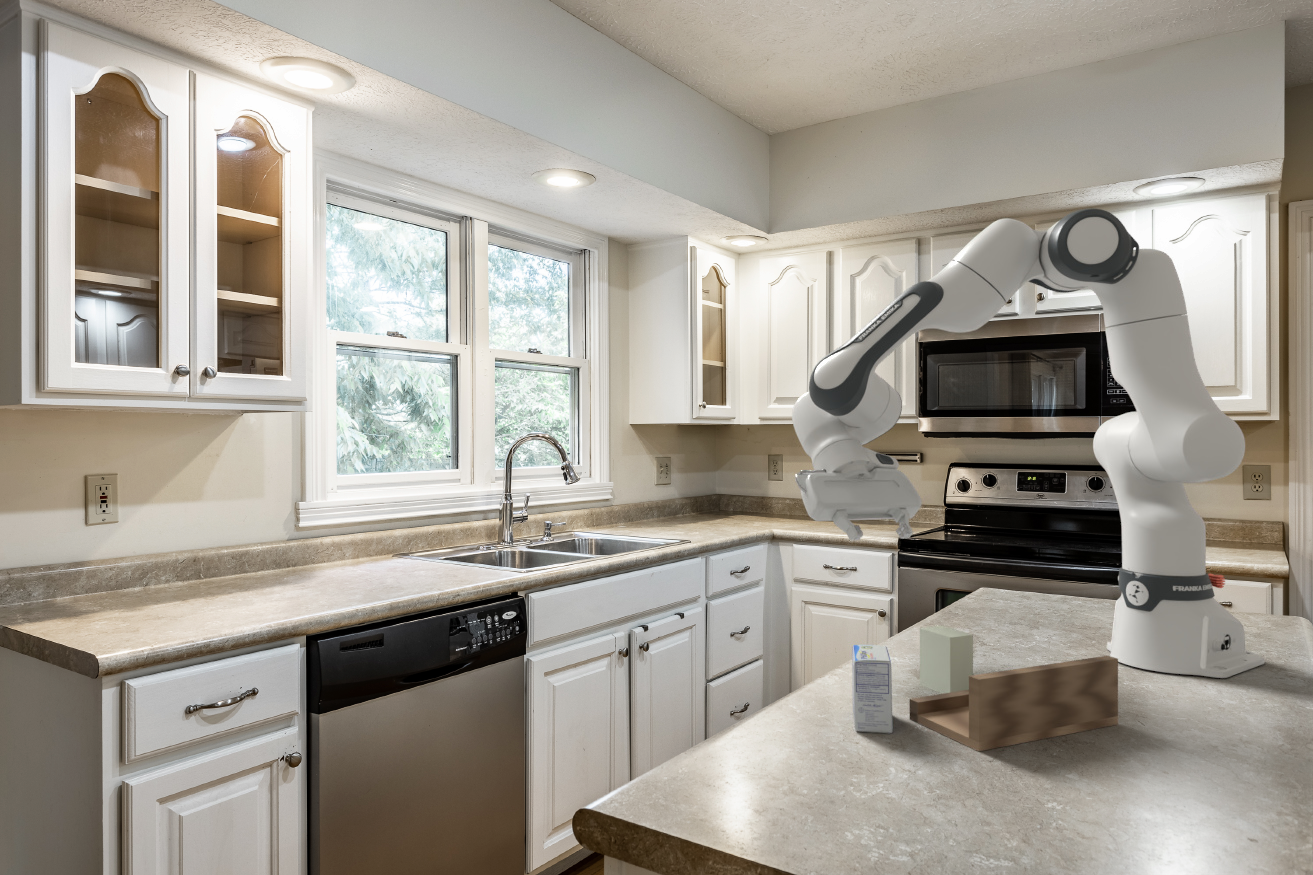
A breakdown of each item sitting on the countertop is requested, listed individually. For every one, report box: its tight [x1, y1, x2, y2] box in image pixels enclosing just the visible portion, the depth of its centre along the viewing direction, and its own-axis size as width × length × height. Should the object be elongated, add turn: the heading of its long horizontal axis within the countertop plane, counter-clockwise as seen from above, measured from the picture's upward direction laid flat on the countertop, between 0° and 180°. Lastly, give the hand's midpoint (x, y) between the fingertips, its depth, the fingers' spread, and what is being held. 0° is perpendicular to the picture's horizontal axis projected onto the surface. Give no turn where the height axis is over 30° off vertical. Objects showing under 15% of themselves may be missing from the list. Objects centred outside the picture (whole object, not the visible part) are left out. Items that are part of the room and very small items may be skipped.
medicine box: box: [851, 644, 894, 735], centre depth 102 cm, size 8×4×9 cm, turn 168°
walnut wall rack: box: [909, 655, 1119, 752], centre depth 102 cm, size 22×12×8 cm, turn 113°
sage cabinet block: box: [919, 625, 974, 694], centre depth 115 cm, size 4×6×8 cm, turn 23°
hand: (882, 537), depth 128 cm, fingers open, 8 cm apart
